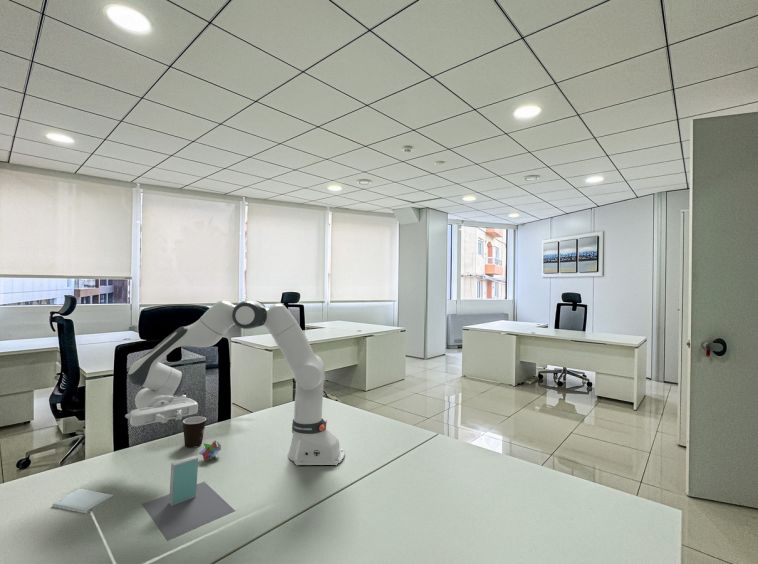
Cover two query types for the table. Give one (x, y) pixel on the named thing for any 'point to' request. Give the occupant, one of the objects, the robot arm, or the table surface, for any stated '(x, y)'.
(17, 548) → the table surface
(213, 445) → the geometric puzzle
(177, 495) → the tile
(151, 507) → the mat
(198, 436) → the coffee mug
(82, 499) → the hard drive
